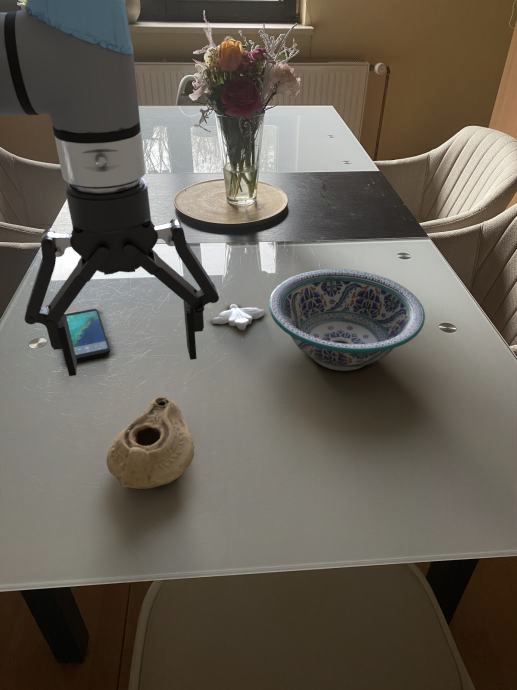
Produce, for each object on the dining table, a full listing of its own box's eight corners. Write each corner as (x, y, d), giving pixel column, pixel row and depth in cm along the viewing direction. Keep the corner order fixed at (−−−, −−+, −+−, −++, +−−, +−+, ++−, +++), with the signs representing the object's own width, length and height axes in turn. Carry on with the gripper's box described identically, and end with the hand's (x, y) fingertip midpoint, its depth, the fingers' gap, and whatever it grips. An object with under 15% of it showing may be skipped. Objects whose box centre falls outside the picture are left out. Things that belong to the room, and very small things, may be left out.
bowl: (359, 423, 78) (368, 372, 73) (237, 353, 92) (237, 305, 86) (441, 350, 93) (453, 303, 88) (325, 299, 107) (330, 255, 101)
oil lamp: (195, 419, 78) (192, 376, 74) (195, 503, 66) (192, 458, 62) (119, 423, 77) (111, 380, 73) (105, 509, 65) (94, 464, 61)
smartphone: (67, 360, 88) (58, 314, 99) (68, 364, 88) (58, 318, 100) (111, 351, 90) (97, 307, 101) (111, 355, 91) (98, 310, 102)
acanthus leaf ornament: (264, 315, 102) (264, 307, 101) (248, 333, 97) (248, 325, 96) (229, 305, 104) (229, 297, 103) (212, 323, 99) (211, 314, 98)
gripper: (-48, 204, 45) (16, 397, 57) (244, 184, 50) (245, 365, 62) (-31, 176, 51) (23, 356, 63) (228, 160, 56) (232, 329, 68)
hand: (133, 360), depth 63 cm, fingers open, 13 cm apart
